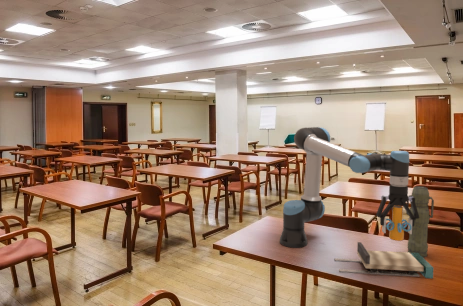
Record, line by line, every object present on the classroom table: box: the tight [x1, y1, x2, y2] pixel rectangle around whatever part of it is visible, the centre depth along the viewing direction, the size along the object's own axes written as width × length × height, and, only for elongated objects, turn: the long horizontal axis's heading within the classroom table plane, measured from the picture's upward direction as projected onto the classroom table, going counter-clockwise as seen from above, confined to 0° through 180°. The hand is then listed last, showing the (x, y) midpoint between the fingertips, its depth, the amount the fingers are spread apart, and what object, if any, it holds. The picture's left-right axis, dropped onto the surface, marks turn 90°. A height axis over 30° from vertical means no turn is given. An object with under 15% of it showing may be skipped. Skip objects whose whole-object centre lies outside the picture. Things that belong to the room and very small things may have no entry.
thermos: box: [405, 185, 435, 259], centre depth 168 cm, size 9×12×35 cm
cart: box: [356, 241, 424, 274], centre depth 154 cm, size 24×16×8 cm, turn 82°
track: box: [334, 253, 435, 279], centre depth 154 cm, size 39×16×5 cm, turn 82°
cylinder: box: [385, 205, 412, 242], centre depth 151 cm, size 12×10×15 cm
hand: (396, 232), depth 152 cm, fingers closed on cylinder, 10 cm apart
